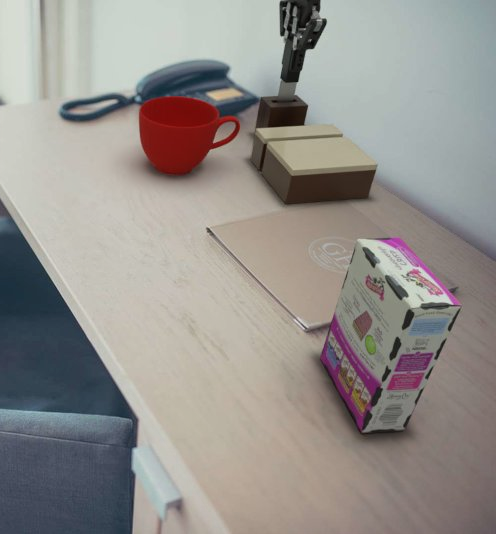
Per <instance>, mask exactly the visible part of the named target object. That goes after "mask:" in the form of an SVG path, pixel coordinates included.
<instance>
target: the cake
mask: <svg viewBox="0 0 496 534" xmlns="http://www.w3.org/2000/svg"><path fill="white" fill-rule="evenodd" d="M378 166H379V163H378V162H377V161H376V160H375V159H373V158H372V157H371V156H369V155H368V154H367V153H366V151H364V150H363V149H361V147H360V146H359V145H358V144H356V143H355V142H353V141H352V139H350V138H349V136H343V137H335V138H319V139H303V140H287V141H271V142H268V143H267V148H266V153H265V159H264V164H263V169H262V170H261V175H262V177H263V178H264V179H265V180H266V181H267V183H268V184H269V185H270V186H271V188H272V189H273V190H274V192H275V193H276V194H277V195H278V196H279V198H280V200H282V202H283V203H284V204H285V205H289V204H302V203H315V202H325V201H326V202H328V201H340V200H353V199H365V198H366V199H367V198H369V195H370V192H371V188H372V185H373V182H374V179H375V176H376V172H377V170H378Z"/></svg>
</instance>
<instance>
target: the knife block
mask: <svg viewBox="0 0 496 534" xmlns="http://www.w3.org/2000/svg"><path fill="white" fill-rule="evenodd" d="M277 98H278V95H271V96H270V95H269V96H268V95H267V96H260V98H259V103H258V111H257V116H256V120H255V127H254V133H253V136H255V131H256V129H257V128H274V127H290V126H305V123H306V118H307V113H308V110H309V104H308V103H306V102H305V101H304V100H303V99H302V98H301V97H299V95H297V94H295V95H294V100H293V102H282V103H277Z"/></svg>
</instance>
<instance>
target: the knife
mask: <svg viewBox="0 0 496 534" xmlns="http://www.w3.org/2000/svg"><path fill="white" fill-rule="evenodd" d="M300 39H301V37H300ZM293 41H294V38H287V43H286V48H285V54H284V59H283V65H282V64H281V71H280V75H279V79H280V82H279V88H278V93H277V96H278V98H277V103H282V102H293V100H294V95H296V89H297V83H299V81H300V75H301V71H300V72H291V71H289V64H290V59H291V54H292V49H293ZM299 41H300V40H299Z"/></svg>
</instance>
